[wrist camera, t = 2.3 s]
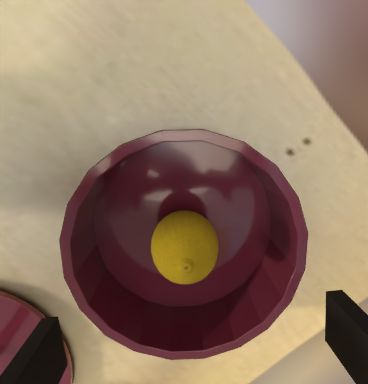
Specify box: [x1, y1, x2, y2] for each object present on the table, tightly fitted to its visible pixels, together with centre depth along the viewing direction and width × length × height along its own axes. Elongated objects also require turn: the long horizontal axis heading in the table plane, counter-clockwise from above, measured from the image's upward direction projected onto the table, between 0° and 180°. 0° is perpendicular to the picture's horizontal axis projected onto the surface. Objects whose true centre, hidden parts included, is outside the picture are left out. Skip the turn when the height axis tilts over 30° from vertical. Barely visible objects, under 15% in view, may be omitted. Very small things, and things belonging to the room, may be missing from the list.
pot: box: [59, 129, 308, 360], centre depth 24 cm, size 19×19×6 cm
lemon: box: [151, 210, 219, 284], centre depth 23 cm, size 6×6×8 cm
